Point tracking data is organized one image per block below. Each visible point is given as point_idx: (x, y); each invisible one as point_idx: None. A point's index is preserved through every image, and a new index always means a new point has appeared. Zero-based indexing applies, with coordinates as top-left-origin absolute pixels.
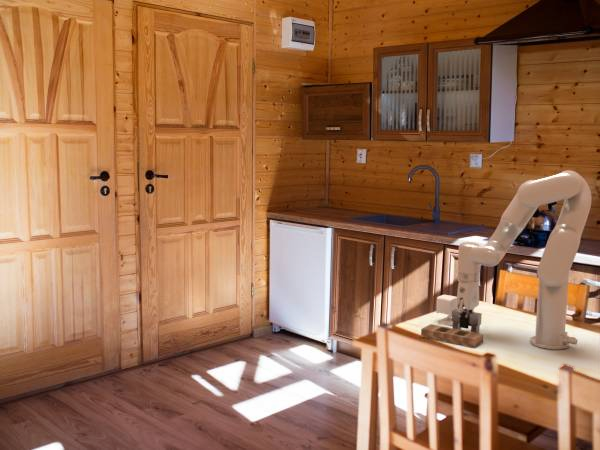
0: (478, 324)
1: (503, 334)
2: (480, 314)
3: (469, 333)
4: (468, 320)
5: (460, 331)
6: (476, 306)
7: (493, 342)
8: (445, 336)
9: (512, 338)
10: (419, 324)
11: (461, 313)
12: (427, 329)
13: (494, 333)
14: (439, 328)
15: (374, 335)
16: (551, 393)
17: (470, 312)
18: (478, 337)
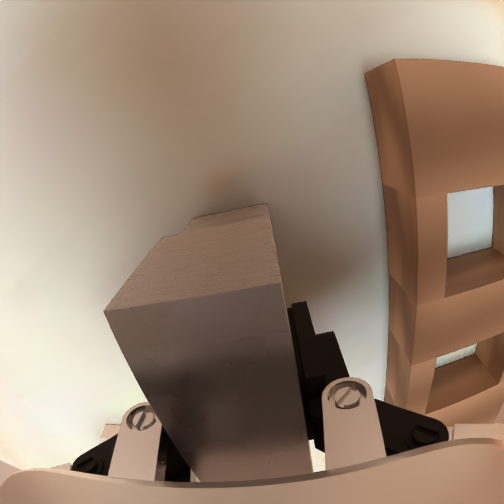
0: (249, 225)
1: (40, 105)
2: (156, 299)
3: (468, 181)
4: (312, 352)
5: (442, 281)
6: (98, 482)
7: (289, 15)
8: None
9: (78, 4)
10: None
11: (475, 429)
12: (495, 407)
13: (66, 161)
14: (437, 405)
15: None
16: None
17: (226, 441)
18: (494, 66)
